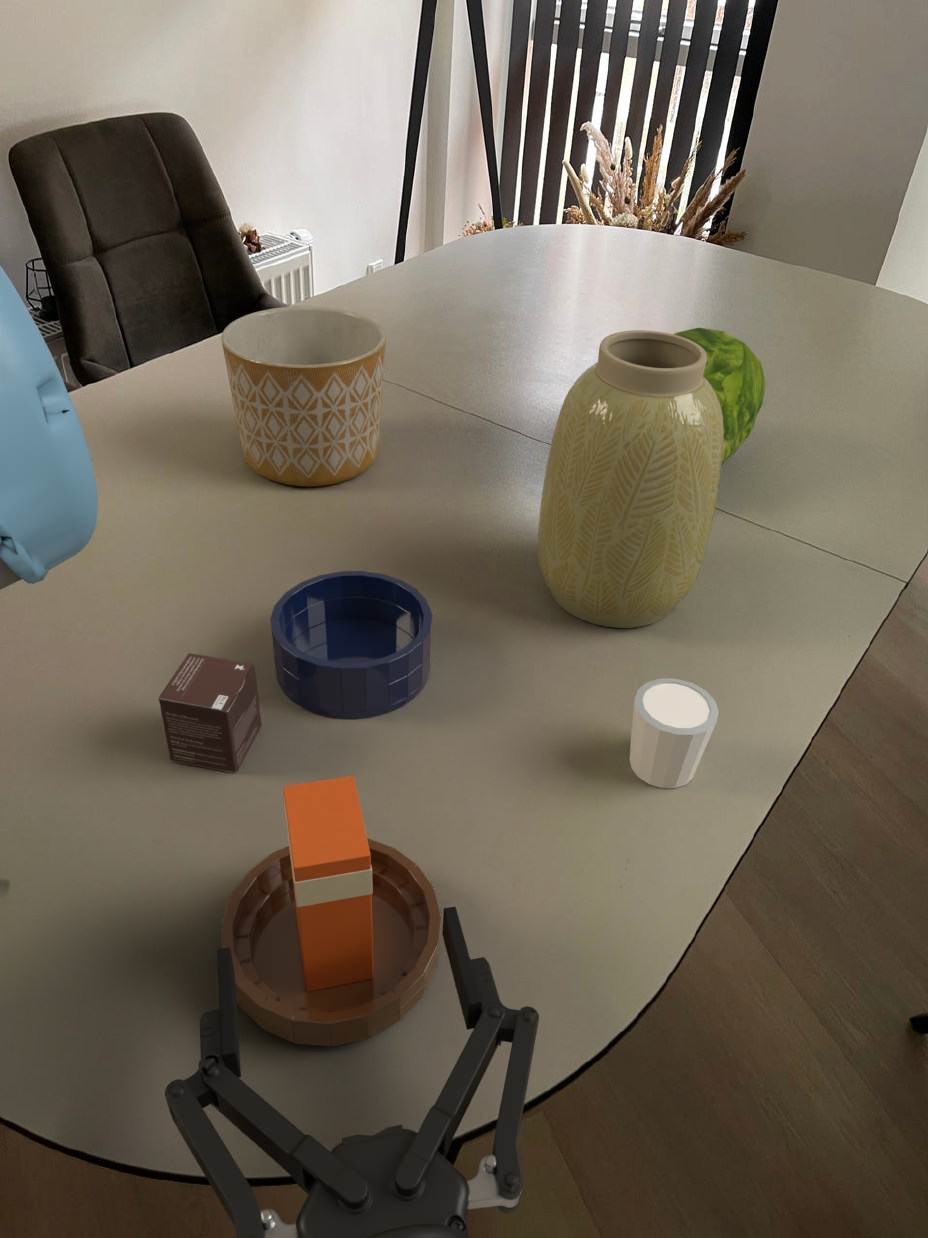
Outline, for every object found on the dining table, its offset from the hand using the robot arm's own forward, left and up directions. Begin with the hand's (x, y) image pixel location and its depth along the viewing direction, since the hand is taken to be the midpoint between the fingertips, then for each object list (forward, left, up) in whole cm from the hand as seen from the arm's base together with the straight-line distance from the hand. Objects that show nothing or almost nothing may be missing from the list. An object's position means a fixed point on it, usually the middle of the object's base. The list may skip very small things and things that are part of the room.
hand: (340, 939), depth 58 cm
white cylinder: (+30, +17, -8) cm, 35 cm away
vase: (+35, +42, -8) cm, 55 cm away
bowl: (0, +5, -8) cm, 9 cm away
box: (-7, +27, -8) cm, 29 cm away
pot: (+6, +35, -8) cm, 36 cm away
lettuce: (+53, +66, -8) cm, 85 cm away
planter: (+7, +77, -8) cm, 77 cm away
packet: (0, +5, -7) cm, 8 cm away
